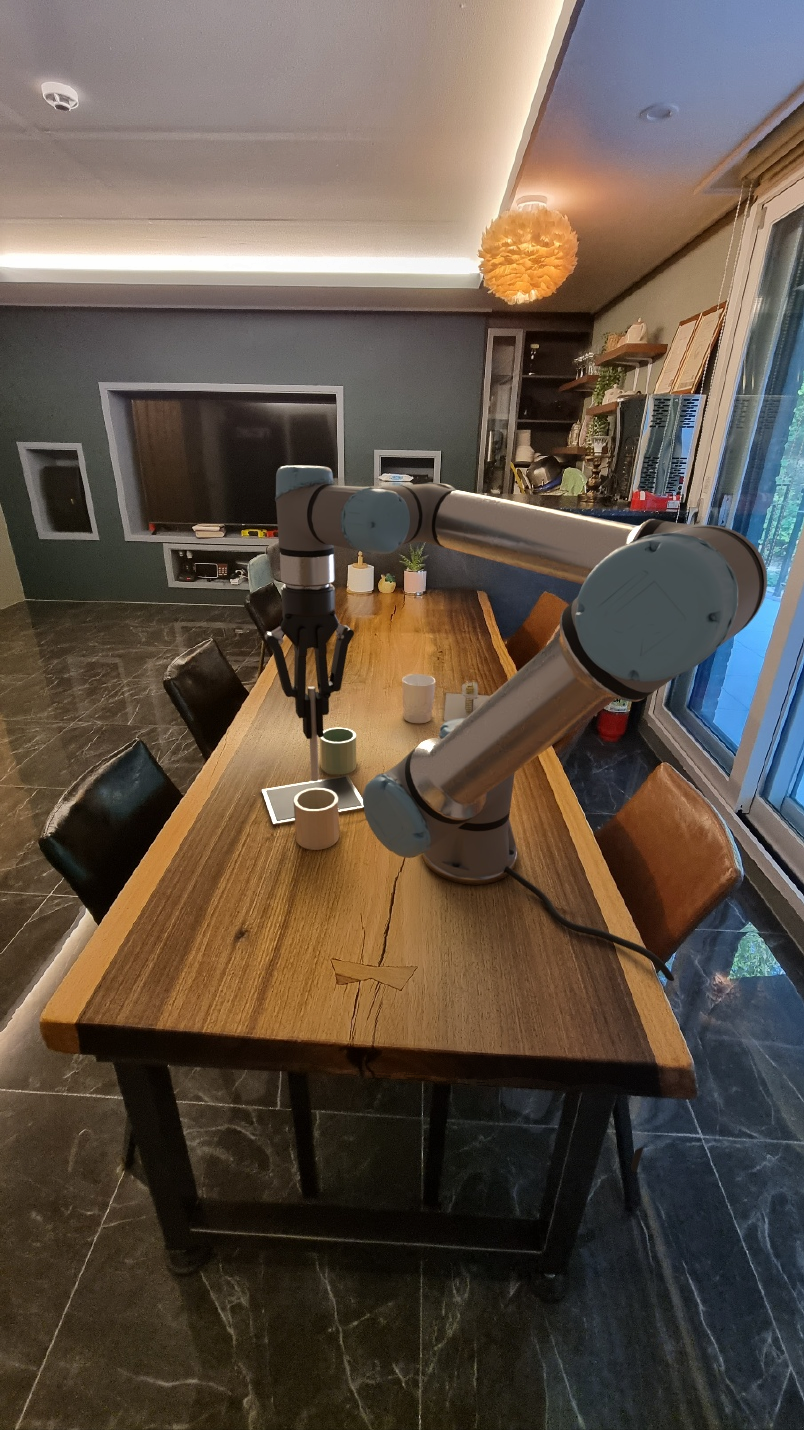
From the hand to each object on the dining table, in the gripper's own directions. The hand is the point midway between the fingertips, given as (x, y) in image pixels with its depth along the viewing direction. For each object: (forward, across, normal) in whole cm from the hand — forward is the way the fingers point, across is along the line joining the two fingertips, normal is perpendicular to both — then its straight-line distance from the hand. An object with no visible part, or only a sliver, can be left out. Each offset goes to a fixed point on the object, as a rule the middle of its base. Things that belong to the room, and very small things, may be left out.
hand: (313, 734), depth 96 cm
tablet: (+19, -2, -11) cm, 22 cm away
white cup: (+20, -35, -40) cm, 57 cm away
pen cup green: (+19, -10, -22) cm, 31 cm away
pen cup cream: (+19, 0, 0) cm, 19 cm away
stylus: (+8, 0, 0) cm, 8 cm away
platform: (+20, -50, -42) cm, 68 cm away
